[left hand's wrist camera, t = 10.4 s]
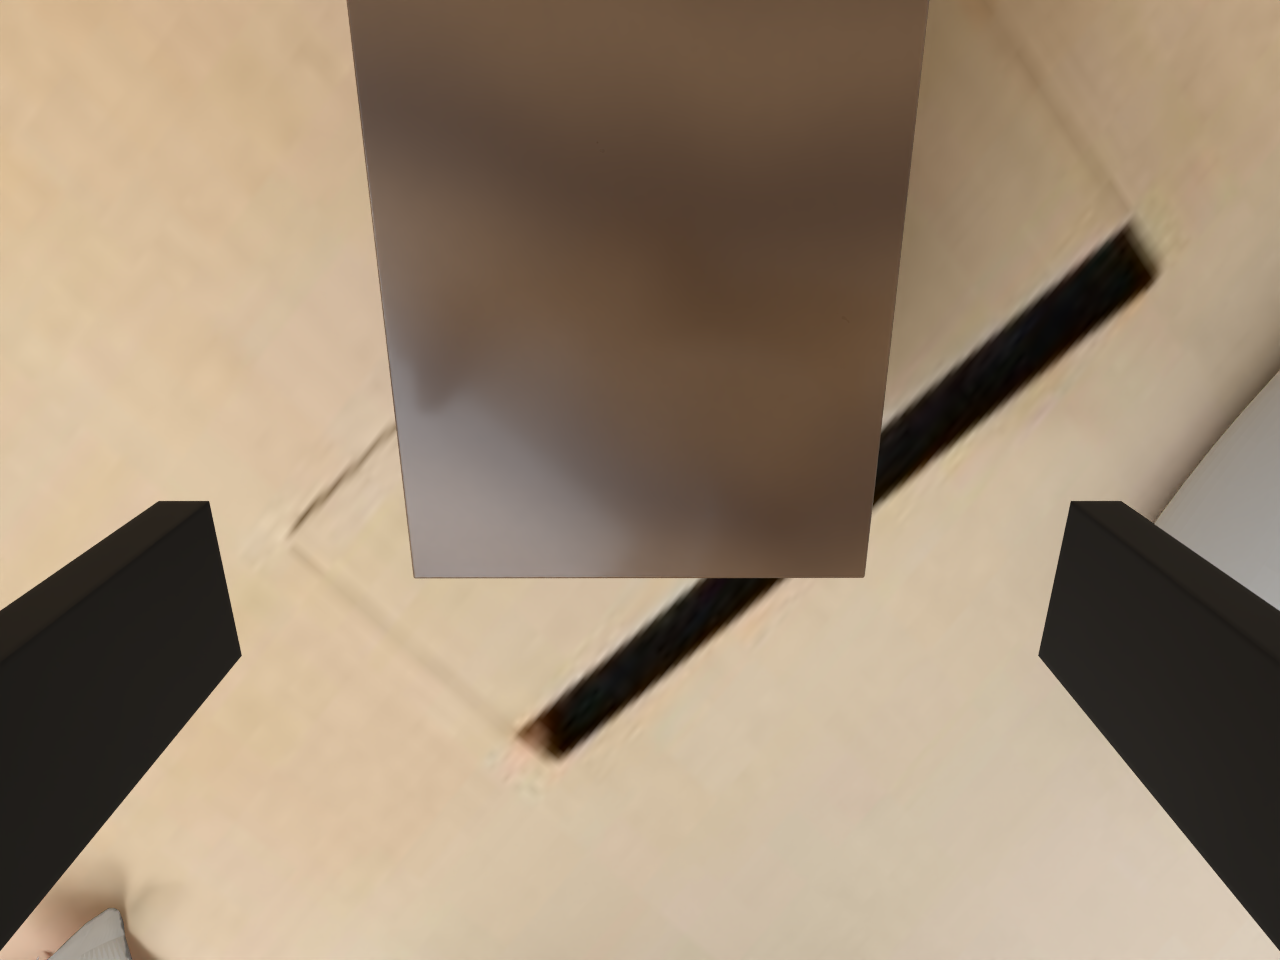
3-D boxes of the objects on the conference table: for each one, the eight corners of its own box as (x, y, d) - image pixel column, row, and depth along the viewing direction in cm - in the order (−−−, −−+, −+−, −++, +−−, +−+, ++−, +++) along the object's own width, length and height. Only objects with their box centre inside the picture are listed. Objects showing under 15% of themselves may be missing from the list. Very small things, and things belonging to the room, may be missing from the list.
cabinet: (450, -191, 24) (287, -498, 13) (826, -192, 24) (986, -499, 13) (494, 433, 31) (413, 579, 20) (784, 433, 31) (865, 578, 20)
